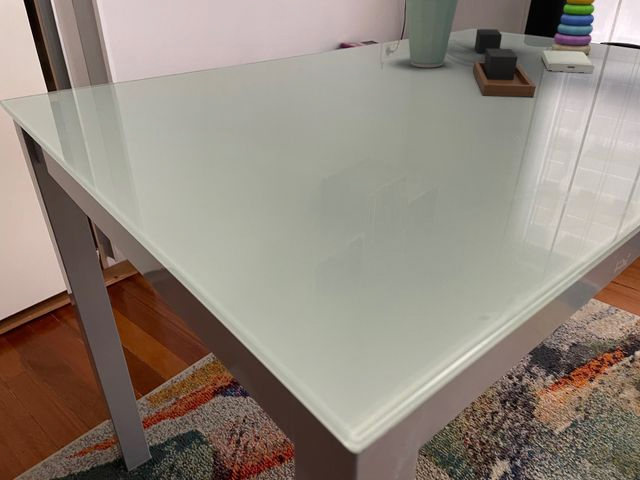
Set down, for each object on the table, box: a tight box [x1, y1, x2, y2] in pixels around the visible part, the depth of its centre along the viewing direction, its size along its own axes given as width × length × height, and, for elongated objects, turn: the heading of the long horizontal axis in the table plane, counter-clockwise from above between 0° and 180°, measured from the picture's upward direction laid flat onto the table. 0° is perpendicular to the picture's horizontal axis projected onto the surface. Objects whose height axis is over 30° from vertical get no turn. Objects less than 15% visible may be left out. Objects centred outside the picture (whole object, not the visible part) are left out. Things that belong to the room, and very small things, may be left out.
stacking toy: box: [551, 0, 596, 55], centre depth 112 cm, size 8×8×19 cm
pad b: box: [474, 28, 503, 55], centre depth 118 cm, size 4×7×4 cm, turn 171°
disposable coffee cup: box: [405, 0, 459, 68], centre depth 103 cm, size 11×11×15 cm
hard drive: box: [541, 49, 595, 74], centre depth 106 cm, size 2×8×12 cm
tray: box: [472, 61, 537, 97], centre depth 94 cm, size 8×17×2 cm, turn 172°
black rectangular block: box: [483, 48, 518, 80], centre depth 96 cm, size 4×7×4 cm, turn 172°
